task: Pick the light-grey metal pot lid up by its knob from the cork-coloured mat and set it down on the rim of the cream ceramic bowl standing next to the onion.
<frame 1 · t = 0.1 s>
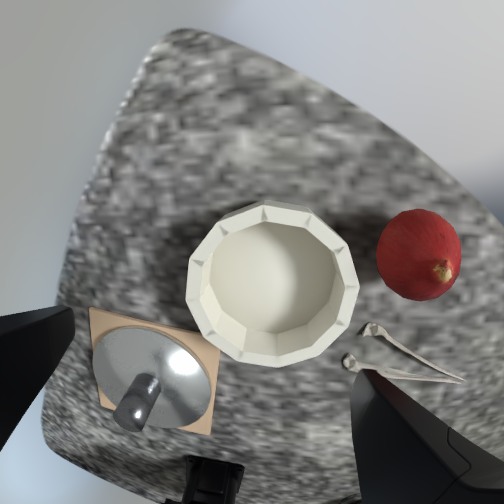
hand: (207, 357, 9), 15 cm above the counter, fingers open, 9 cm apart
mat: (152, 377, 27), on the counter
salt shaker: (358, 500, 31), on the counter
bowl: (272, 273, 23), on the counter
tweezers: (424, 364, 25), on the counter
onion: (398, 241, 22), on the counter
lid: (150, 379, 26), resting on mat
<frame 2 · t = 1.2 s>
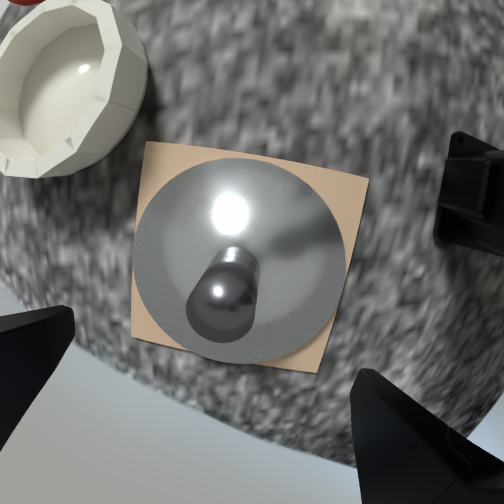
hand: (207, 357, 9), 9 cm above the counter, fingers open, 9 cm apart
mat: (237, 264, 18), on the counter
bowl: (73, 90, 15), on the counter
lid: (236, 266, 17), resting on mat
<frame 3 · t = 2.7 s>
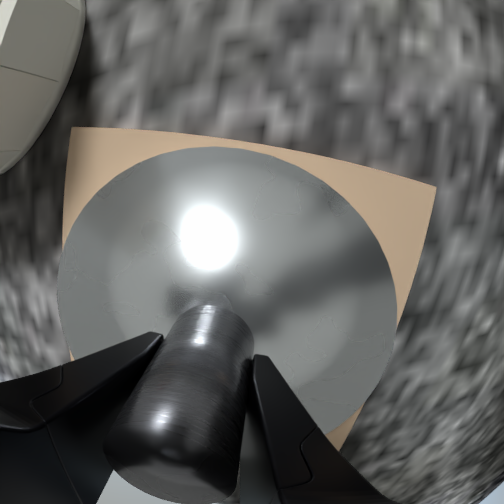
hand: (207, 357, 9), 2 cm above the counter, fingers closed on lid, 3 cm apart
mat: (218, 325, 11), on the counter
lid: (216, 330, 10), resting on mat, touching gripper
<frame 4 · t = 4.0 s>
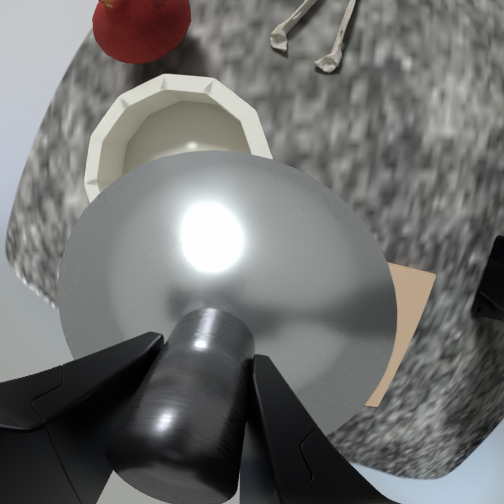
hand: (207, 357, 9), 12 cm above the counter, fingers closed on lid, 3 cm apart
mat: (334, 334, 22), on the counter
bowl: (189, 170, 20), on the counter
onion: (163, 40, 18), on the counter
lid: (217, 333, 10), point 11 cm above the counter, touching gripper
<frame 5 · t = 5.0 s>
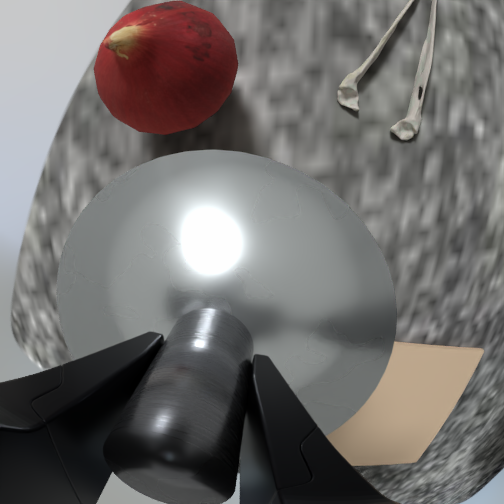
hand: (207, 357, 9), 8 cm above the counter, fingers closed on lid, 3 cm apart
mat: (384, 413, 19), on the counter
tweezers: (414, 14, 13), on the counter
onion: (190, 87, 15), on the counter
lid: (215, 333, 10), point 7 cm above the counter, touching gripper
when the fingers open (7 cm above the counter, at t = 5.5 s): lid drops 1 cm, resting on bowl.
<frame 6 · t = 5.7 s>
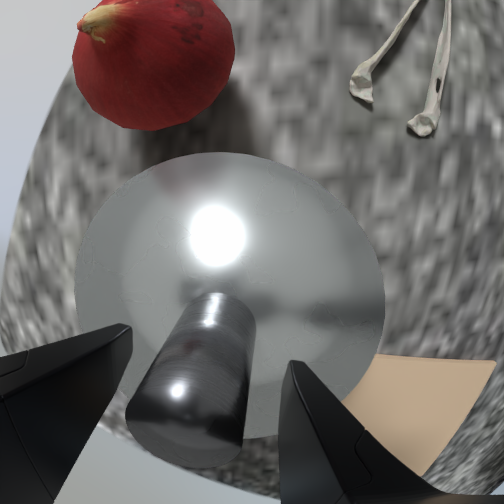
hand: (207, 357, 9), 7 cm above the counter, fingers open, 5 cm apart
mat: (391, 429, 17), on the counter
tweezers: (428, 3, 11), on the counter
onion: (183, 80, 13), on the counter
lid: (221, 317, 11), point 4 cm above the counter, touching bowl
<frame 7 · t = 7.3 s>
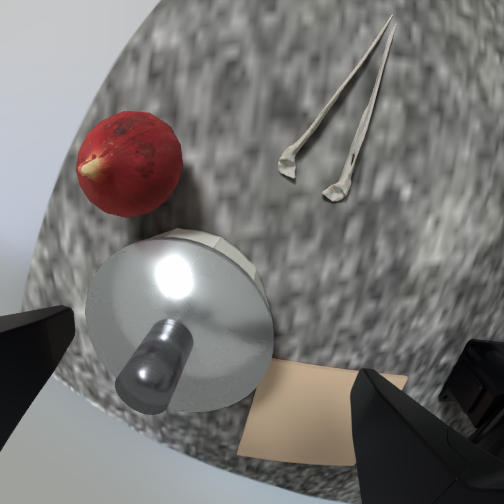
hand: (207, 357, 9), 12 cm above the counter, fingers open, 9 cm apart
mat: (317, 421, 24), on the counter
bowl: (190, 303, 22), on the counter
tweezers: (362, 76, 18), on the counter
onion: (154, 163, 20), on the counter
lid: (175, 332, 18), point 4 cm above the counter, touching bowl
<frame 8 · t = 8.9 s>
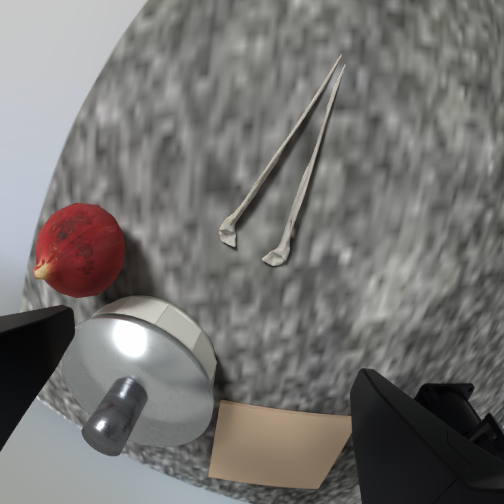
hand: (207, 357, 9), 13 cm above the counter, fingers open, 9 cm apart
mat: (276, 452, 26), on the counter
bowl: (151, 355, 24), on the counter
tweezers: (306, 132, 19), on the counter
onion: (109, 236, 21), on the counter
lid: (134, 386, 20), point 4 cm above the counter, touching bowl
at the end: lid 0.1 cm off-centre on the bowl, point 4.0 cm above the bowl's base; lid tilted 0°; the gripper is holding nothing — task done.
